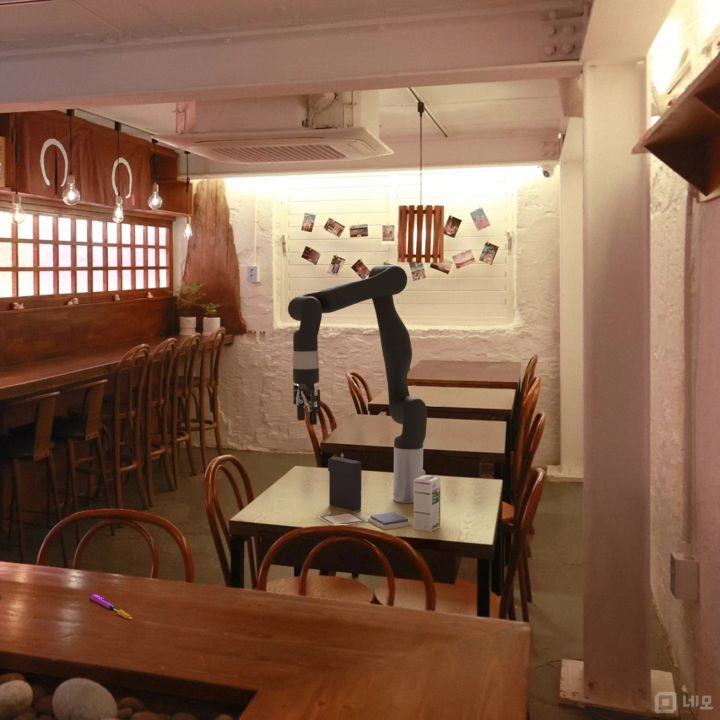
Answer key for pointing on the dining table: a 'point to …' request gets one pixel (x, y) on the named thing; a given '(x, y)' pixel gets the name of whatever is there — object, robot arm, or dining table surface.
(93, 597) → the purple and yellow stick
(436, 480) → the syrup box
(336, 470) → the dark grey upright block
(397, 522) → the ink pad
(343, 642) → the dining table surface
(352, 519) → the marked card
